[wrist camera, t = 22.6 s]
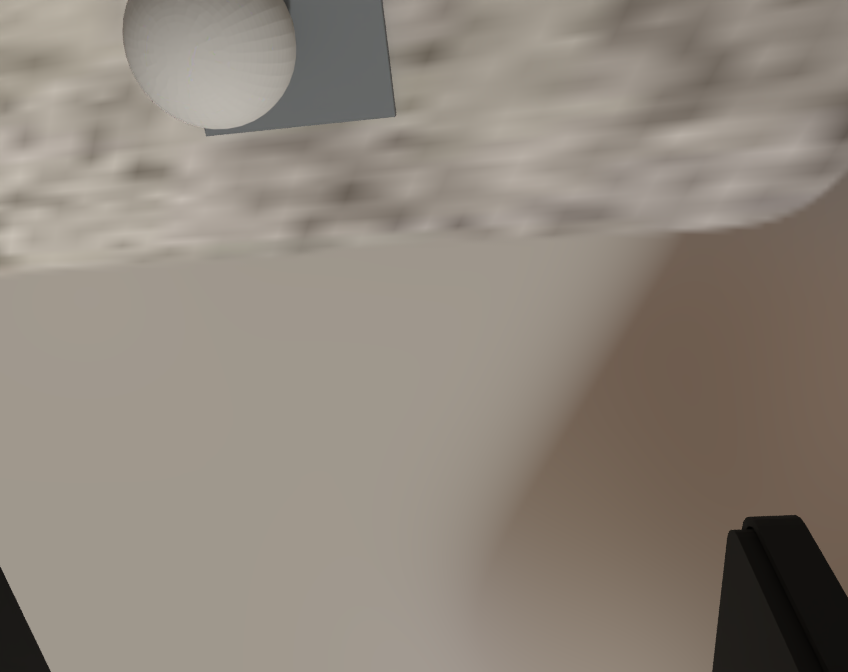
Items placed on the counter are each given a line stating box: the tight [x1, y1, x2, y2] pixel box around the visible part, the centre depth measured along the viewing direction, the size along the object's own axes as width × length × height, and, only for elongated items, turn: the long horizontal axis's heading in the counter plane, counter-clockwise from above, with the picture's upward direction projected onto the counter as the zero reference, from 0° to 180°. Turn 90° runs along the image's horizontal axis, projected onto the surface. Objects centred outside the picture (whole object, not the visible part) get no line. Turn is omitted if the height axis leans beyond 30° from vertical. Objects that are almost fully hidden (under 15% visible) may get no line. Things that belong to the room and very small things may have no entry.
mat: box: [204, 0, 396, 136], centre depth 33 cm, size 9×9×1 cm
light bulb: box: [123, 0, 296, 129], centre depth 28 cm, size 6×6×10 cm
